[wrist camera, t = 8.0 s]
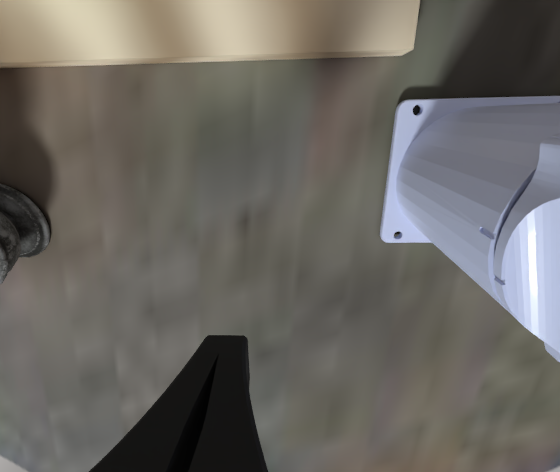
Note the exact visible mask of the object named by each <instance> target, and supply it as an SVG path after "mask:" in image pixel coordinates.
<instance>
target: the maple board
mask: <svg viewBox="0 0 560 472" xmlns="http://www.w3.org/2000/svg"><path fill="white" fill-rule="evenodd" d="M419 6H420V0H0V68H25V67H57V66H89V65H121V64H153V63H185V62H217V61H249V60H282V59H314V58H346V57H378V56H402V55H404V54H405V53H407V52H409V51H411V50H413V48H414V41H415V34H416V27H417V20H418V13H419Z"/></svg>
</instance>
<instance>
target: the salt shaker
mask: <svg viewBox="0 0 560 472" xmlns="http://www.w3.org/2000/svg"><path fill="white" fill-rule="evenodd" d="M49 239H50V231H49V226H48V223H47V221H46V219H45V216H44V215H43V214H42V212H41V211H40V209H39V208H38V207H37V206H36V205H35V204H34V203H33V202H32V201H31V200H30V199H29V198H28V197H26V196H25V195H23V194H22V193H20V192H19V191H18V190H15V189H13V188H11V187H9V186H7V185H3V184H0V284H1V283H3V281H4V279H5V278H6V276H7V273H8V272H9V271H11V269H12V267H13V266H14V264H15V263H16V261H17V259H18V258H19V257H31V256H35V255H38V254H39V253H41V252H42V251H43V250H45V248H46V247H47V245H48V244H49Z"/></svg>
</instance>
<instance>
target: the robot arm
mask: <svg viewBox="0 0 560 472" xmlns="http://www.w3.org/2000/svg"><path fill="white" fill-rule="evenodd" d="M416 105H418V106H419V107H420V111H419V113H418V114H417V115H414V114H413V108H414V107H415V106H416ZM398 231H399V232H400V234H399V235H398V236H397V237H394V233H396V232H398ZM380 237H381V238H382V240H383V241H385V242H388V243H402V242H432V243H433V244H434V245H436V246H437V247H438V248H439V249H440V250H441V251H442V252H443V253H444V254H445V255H447V256H448V257H449V258H450V259H451V260H452V261H453V262H454V263H455V264H457V265H458V266H459V267H460V268H461V269H462V270H463V271H464V272H465V273H466V274H468V275H469V276H470V277H471V278H472V279H473V280H474V281H475V282H476V283H478V284H479V285H480V286H481V287H482V288H483V289H484V290H485V291H486V292H487V293H489V294H490V295H491V296H492V297H493V298H494V299H495V300H496V301H497V302H499V303H500V304H501V305H502V306H503V307H504V308H505V309H506V310H507V311H509V313H510V314H511V315H512V316H514V317H515V318H516V319H517V320H518V321H519V322H520V323H521V324H522V325H523V326H524V327H525V328H527V329H528V330H529V331H530V332H532V333H533V334H534V335H536V336H537V337H538V338H540V339H541V340H542V341H544V343H545V349H546V351H548V352H549V353H550V354H551V355H552V356H553V357H554V358H555V359H556V360H557V361H558V362H559V363H560V96H532V97H491V98H451V99H410V100H404V101H402V102H401V103H399V105H398V106H397V108H396V113H395V121H394V128H393V136H392V144H391V151H390V159H389V167H388V174H387V182H386V190H385V197H384V205H383V213H382V220H381V228H380ZM249 380H250V374H249V357H248V340H247V338H246V337H245V336H231V335H208V336H207V337H206V338H205V339H204V341H203V342H202V343H201V345H200V346H199V348H198V349H197V350H196V352H195V353H194V355H193V356H192V357H191V359H190V360H189V361H188V363H187V364H186V365H185V367H184V368H183V369H182V371H181V372H180V373H179V374H178V376H177V377H176V378H175V379H174V381H173V382H172V383H171V384H170V386H169V387H168V388H167V389H166V391H165V392H164V393H163V394H162V395H161V397H160V398H159V399H158V400H157V401H156V402H155V403H154V405H153V406H152V407H151V408H150V409H149V410H148V411H147V413H146V414H145V415H144V416H143V417H142V418H141V419H140V421H139V422H138V423H137V424H136V425H135V426H134V427H133V428H132V429H131V430H130V431H129V432H128V433H127V434H126V436H125V437H124V438H123V439H122V440H121V441H120V442H119V443H118V444H117V445H116V446H115V447H114V448H113V449H112V450H111V451H110V452H109V453H108V454H107V455H106V456H105V457H104V458H103V459H102V460H101V461H100V462H99V463H98V464H96V465H95V466H94V467H93V468H92V469H91V470H90V471H89V472H268V470H267V467H266V463H265V460H264V456H263V452H262V449H261V445H260V441H259V437H258V433H257V429H256V425H255V420H254V415H253V411H252V406H251V400H250V395H249Z"/></svg>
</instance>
